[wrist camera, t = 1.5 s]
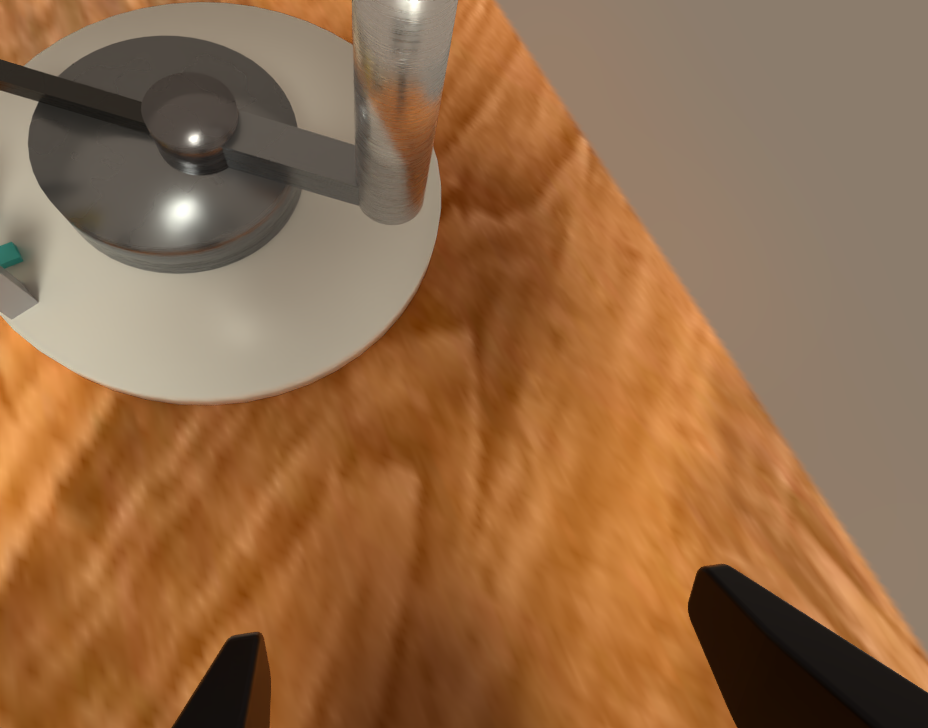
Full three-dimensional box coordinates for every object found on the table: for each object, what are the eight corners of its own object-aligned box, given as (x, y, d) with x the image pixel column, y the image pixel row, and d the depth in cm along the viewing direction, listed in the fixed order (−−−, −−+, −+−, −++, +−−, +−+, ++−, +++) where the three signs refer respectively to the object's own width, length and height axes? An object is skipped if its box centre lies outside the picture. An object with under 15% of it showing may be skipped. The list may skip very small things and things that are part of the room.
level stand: (520, 235, 26) (548, 179, 22) (153, 510, 21) (103, 500, 17) (271, -30, 29) (256, -124, 25) (-122, 150, 23) (-224, 66, 19)
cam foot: (431, 229, 24) (492, -59, 13) (203, 388, 21) (11, 188, 9) (237, 16, 26) (138, -406, 14) (-4, 131, 22) (-381, -303, 11)
